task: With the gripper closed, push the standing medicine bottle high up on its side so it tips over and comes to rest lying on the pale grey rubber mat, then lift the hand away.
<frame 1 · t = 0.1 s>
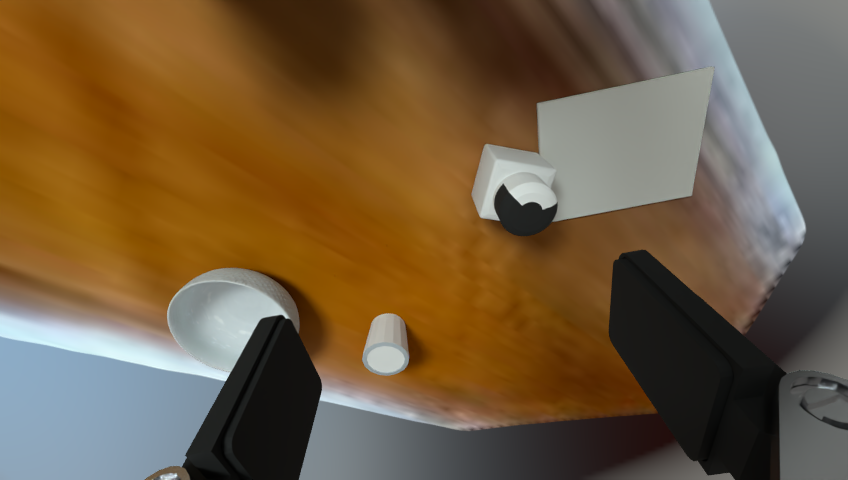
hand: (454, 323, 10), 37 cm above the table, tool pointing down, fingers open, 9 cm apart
shot glass: (388, 325, 59), on the table
medicine bottle: (503, 174, 47), on the table
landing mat: (618, 151, 46), on the table
cereal bowl: (252, 298, 55), on the table
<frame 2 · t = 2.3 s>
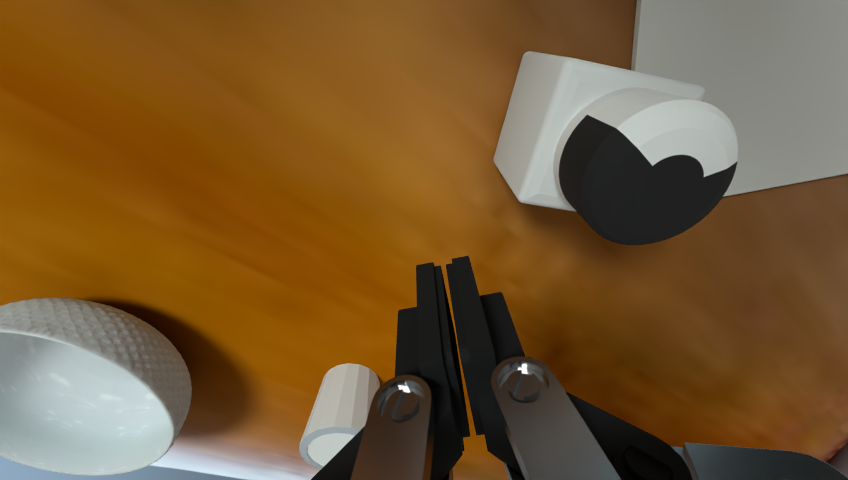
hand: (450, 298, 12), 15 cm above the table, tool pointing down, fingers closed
shot glass: (352, 381, 37), on the table
medicine bottle: (555, 119, 24), on the table
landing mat: (787, 72, 23), on the table
cereal bowl: (119, 342, 33), on the table
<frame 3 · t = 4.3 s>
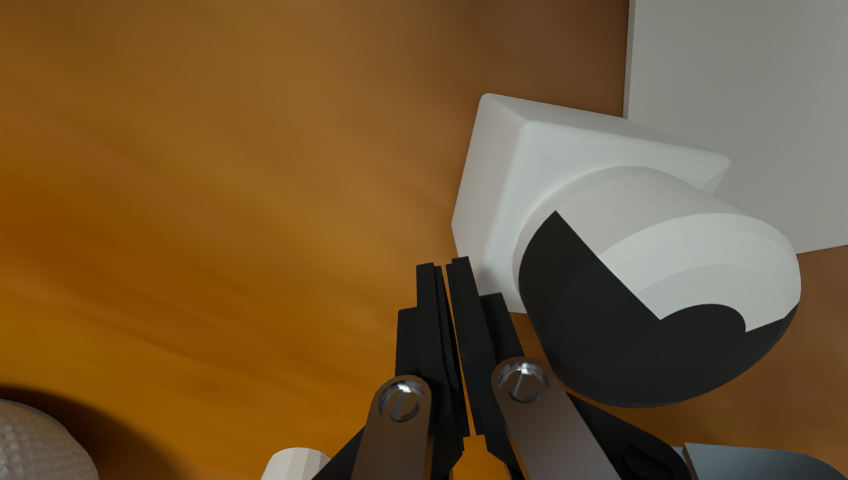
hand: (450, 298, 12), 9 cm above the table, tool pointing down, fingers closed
shot glass: (303, 464, 31), on the table
medicine bottle: (528, 174, 19), on the table, touching gripper
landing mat: (827, 113, 18), on the table
cereal bowl: (19, 428, 28), on the table
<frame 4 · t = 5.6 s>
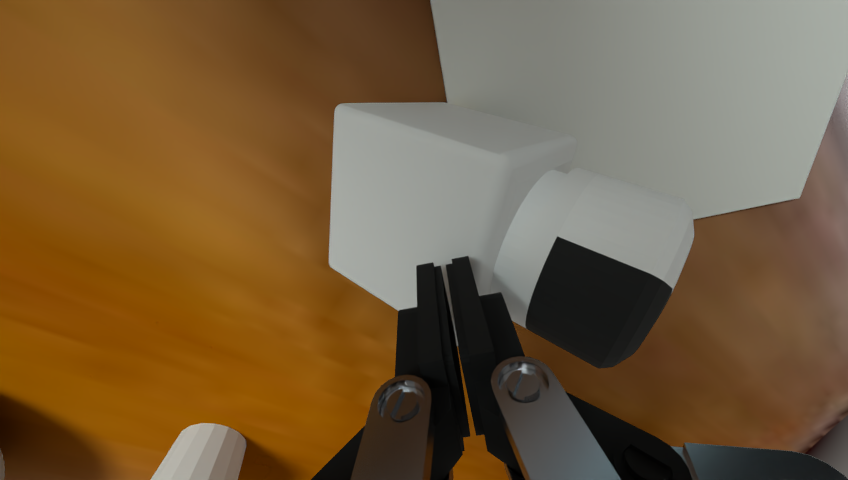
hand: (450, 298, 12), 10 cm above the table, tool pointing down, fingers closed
shot glass: (214, 439, 32), on the table
medicine bottle: (383, 178, 17), point 3 cm above the table, touching gripper, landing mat
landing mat: (642, 97, 19), on the table
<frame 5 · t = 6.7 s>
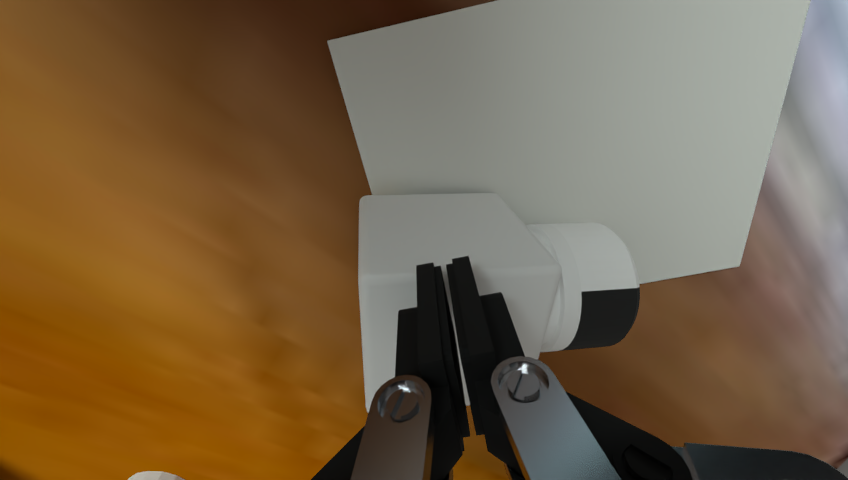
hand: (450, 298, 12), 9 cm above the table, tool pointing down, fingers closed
medicine bottle: (357, 297, 16), point 5 cm above the table, touching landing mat
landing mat: (564, 169, 19), on the table
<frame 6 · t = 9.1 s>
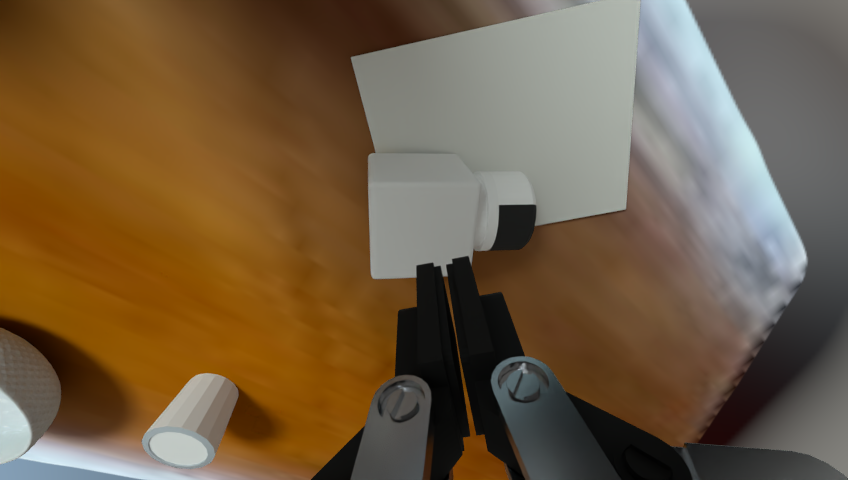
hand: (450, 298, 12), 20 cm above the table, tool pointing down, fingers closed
shot glass: (214, 389, 42), on the table
medicine bottle: (366, 213, 26), point 5 cm above the table, touching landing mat
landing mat: (501, 139, 29), on the table
cereal bowl: (6, 352, 39), on the table
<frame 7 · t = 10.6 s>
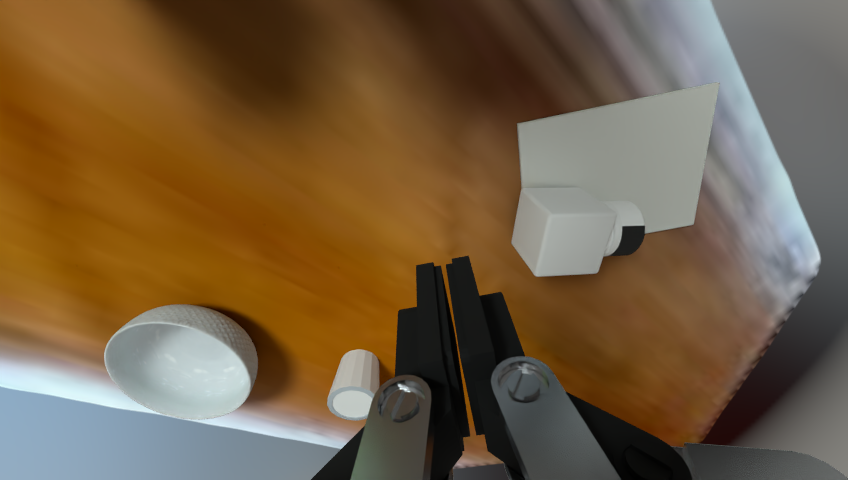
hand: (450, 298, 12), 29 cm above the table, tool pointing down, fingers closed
shot glass: (360, 362, 54), on the table
medicine bottle: (525, 231, 38), point 5 cm above the table, touching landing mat
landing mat: (610, 177, 40), on the table
cereal bowl: (208, 334, 50), on the table
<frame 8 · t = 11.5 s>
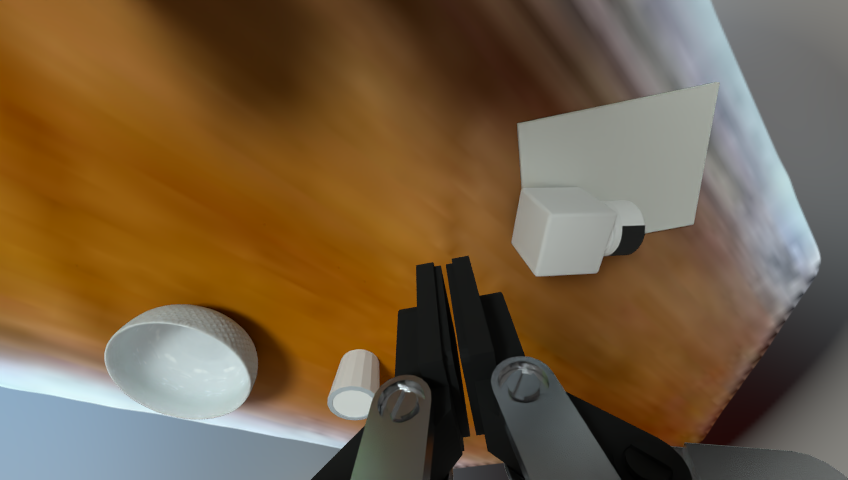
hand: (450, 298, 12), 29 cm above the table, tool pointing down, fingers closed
shot glass: (360, 362, 54), on the table
medicine bottle: (525, 230, 38), point 5 cm above the table, touching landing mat
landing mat: (610, 176, 40), on the table
cereal bowl: (208, 334, 50), on the table
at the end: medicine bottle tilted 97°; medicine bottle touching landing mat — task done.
